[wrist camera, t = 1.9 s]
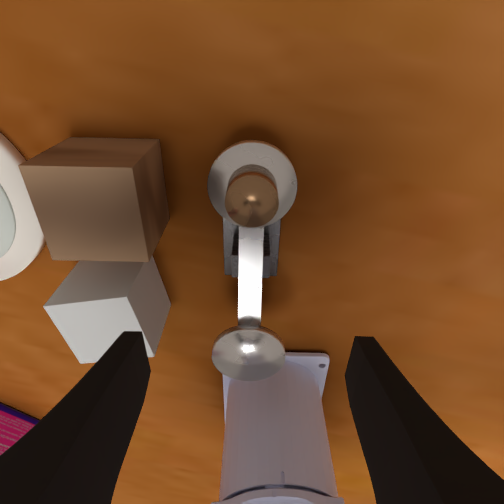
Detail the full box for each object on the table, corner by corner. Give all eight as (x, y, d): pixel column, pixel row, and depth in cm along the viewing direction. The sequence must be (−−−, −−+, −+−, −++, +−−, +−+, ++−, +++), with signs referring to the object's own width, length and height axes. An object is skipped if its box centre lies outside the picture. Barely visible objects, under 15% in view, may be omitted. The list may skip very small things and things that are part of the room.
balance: (278, 320, 24) (282, 381, 19) (221, 318, 24) (213, 380, 19) (294, 126, 17) (307, 158, 12) (213, 125, 17) (197, 155, 12)
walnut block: (169, 218, 19) (148, 262, 16) (92, 216, 19) (52, 259, 16) (159, 138, 17) (131, 167, 13) (70, 136, 17) (17, 165, 13)
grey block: (171, 303, 23) (154, 356, 19) (109, 310, 23) (80, 363, 20) (150, 248, 21) (126, 296, 17) (81, 257, 21) (43, 306, 17)
